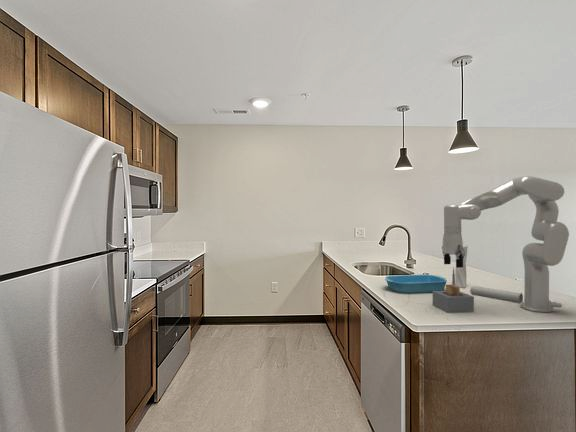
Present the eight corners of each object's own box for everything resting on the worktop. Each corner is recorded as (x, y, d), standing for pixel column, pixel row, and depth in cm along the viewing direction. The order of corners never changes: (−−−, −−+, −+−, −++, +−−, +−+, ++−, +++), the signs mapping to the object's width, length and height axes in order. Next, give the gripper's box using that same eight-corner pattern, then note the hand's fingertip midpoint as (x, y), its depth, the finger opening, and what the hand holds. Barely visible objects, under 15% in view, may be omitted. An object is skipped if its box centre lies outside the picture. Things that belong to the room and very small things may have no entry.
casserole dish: (394, 295, 190) (394, 282, 190) (378, 286, 212) (378, 275, 212) (455, 293, 194) (455, 280, 194) (433, 284, 216) (433, 273, 216)
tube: (467, 287, 190) (518, 296, 170) (472, 283, 193) (522, 291, 173) (469, 296, 191) (519, 305, 171) (473, 291, 194) (523, 300, 174)
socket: (456, 304, 170) (456, 290, 170) (473, 311, 157) (473, 296, 157) (432, 305, 169) (432, 291, 169) (447, 312, 156) (447, 297, 156)
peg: (454, 304, 165) (454, 284, 165) (459, 307, 161) (459, 286, 161) (445, 305, 165) (445, 284, 165) (450, 307, 161) (450, 286, 161)
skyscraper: (454, 284, 216) (454, 241, 215) (468, 286, 211) (468, 242, 211) (451, 287, 209) (451, 242, 209) (466, 289, 204) (466, 243, 204)
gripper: (435, 229, 171) (436, 263, 171) (456, 231, 154) (457, 269, 154) (449, 229, 172) (449, 262, 172) (471, 231, 155) (472, 268, 155)
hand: (453, 265), depth 163 cm, fingers open, 9 cm apart
